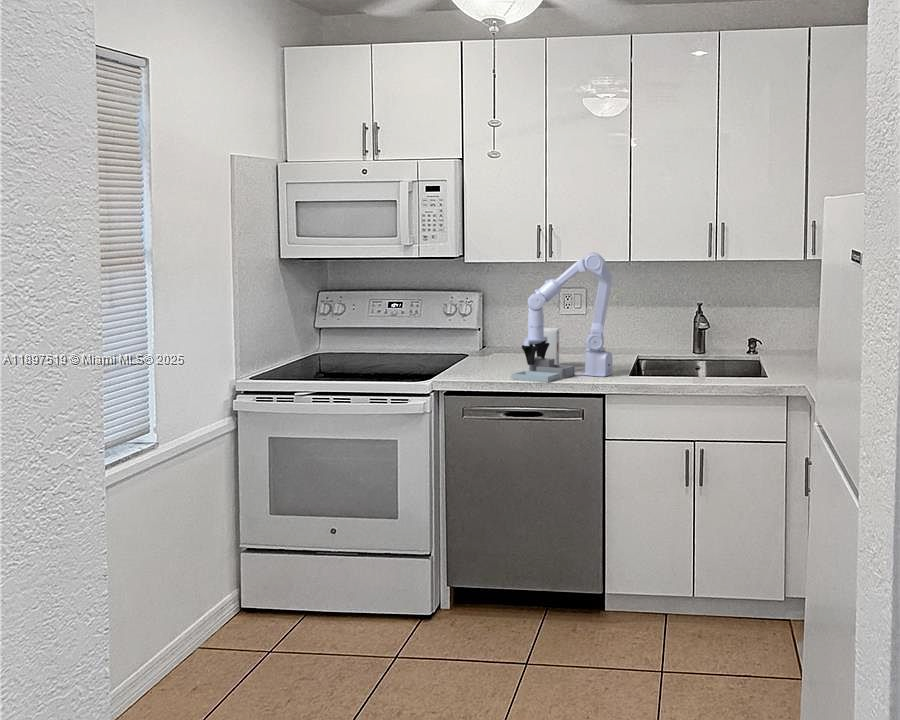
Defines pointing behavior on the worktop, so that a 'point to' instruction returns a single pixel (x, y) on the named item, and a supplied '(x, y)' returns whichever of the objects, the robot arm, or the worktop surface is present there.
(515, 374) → the tray
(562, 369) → the bay
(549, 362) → the caddy
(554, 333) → the grey piece
